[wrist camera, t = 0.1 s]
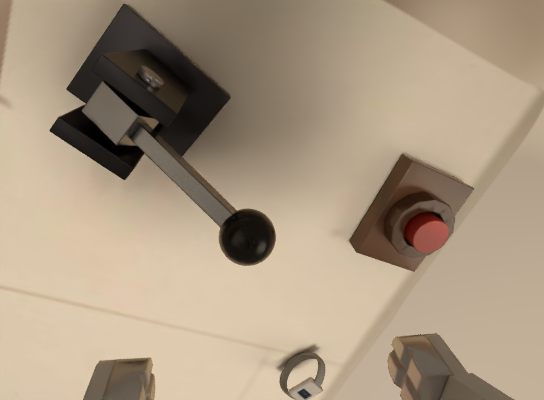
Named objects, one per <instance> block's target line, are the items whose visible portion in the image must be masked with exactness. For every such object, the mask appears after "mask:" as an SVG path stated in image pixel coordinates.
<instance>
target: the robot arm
mask: <svg viewBox="0 0 544 400" xmlns="http://www.w3.org/2000/svg"><path fill="white" fill-rule="evenodd" d="M392 346H393V348H394V350H393V351H392V352H391V353H390V354H389V357H388V369H389V373H390V376H391V378H392V380H393V382H394V384H396V385H397V386H398V387H400V388H401V395H400V396H401V398H402V400H514V399H512V398H511V397H509V396H507V395H506V394H504V393H503V392H501V391H500V390H498V389H496V388H494V387H493V386H492V385H490V384H488V383H487V382H485V381H484V380H482V379H481V378H479V377H477V376H476V375H474V374H473V373H468V372H466V370H465V369H464V367H463V366H462V365H461V363H460V362H459V360H458V359H457V358H456V357H455V355H454V354H453V353H452V351H451V350H450V348H449V347H448V346H447V344H446V343H445V342H444V340H443V339H442V338H441V337H440V336H439V335H438V334H437V333H436V334H425V335H421V334H420V335H411V336H400V337H395V338H394V339H393V342H392ZM152 366H153V364H152V359H151V358H134V359H117V360H103V361H99V363H98V364H97V365H96V367H95V370H94V373H93V375H92V378H91V380H90V383H89V385H88V388H87V391H86V393H85V396H84V398H83V400H154V397H155V377H154V374H152V373H151V371H152Z"/></svg>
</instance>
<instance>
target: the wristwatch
mask: <svg viewBox="0 0 544 400" xmlns="http://www.w3.org/2000/svg"><path fill="white" fill-rule="evenodd" d="M311 358H312V359H317V360H318V372H317V375H316V378H315V380H314V379H313V378H312V377H310V378H308V379H306V380H305V381H303V382H301V383H300V384H298V385H296V386H295V387H293V388H291V389H290V390H289V391H288V389H287V379H288V376H289V374H290V372H291V371H292V369H293V368H294V367H295V366H296V365H297V364H298V363H300V362H301V361H303V360H306V359H311ZM324 376H325V364H324V362H323V360H322V359H321V358H320V357H319V356H318V355H317V354H315V353H313V352H304V353H301V354H298V355H296V356H295V357H293V358H292V359H291V360H290V361H289V362H288V363H287V364H286V365H285V367H284V369H283V371H282V373H281V376H280V386H281V388H282V390H283V391H284V392H285V393H286V394H287V395H288V396H289V397H291V398H292V399H295V400H308V399H310V398H312V397H313V396H315V395H317V394H319V393H320V392H322V391H323V389H322V387H321V384H322V382H323V380H324Z"/></svg>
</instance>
